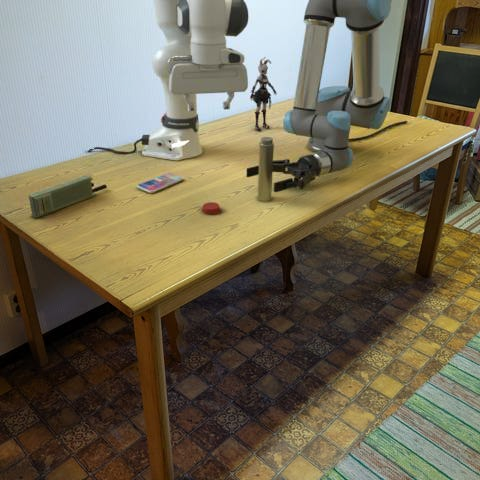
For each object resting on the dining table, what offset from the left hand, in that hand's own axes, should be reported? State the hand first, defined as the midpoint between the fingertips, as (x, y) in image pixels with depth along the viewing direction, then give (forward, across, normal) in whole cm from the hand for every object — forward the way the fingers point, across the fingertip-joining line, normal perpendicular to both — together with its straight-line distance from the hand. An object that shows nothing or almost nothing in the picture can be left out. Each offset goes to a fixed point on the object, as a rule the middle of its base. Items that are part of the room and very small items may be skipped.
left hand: (209, 109), depth 133 cm
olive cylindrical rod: (+30, +18, +4) cm, 35 cm away
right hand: (+23, +16, +4) cm, 28 cm away
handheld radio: (+30, -39, +15) cm, 51 cm away
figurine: (+30, +38, +73) cm, 88 cm away
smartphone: (+30, -12, +23) cm, 39 cm away
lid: (+28, 0, 0) cm, 28 cm away
